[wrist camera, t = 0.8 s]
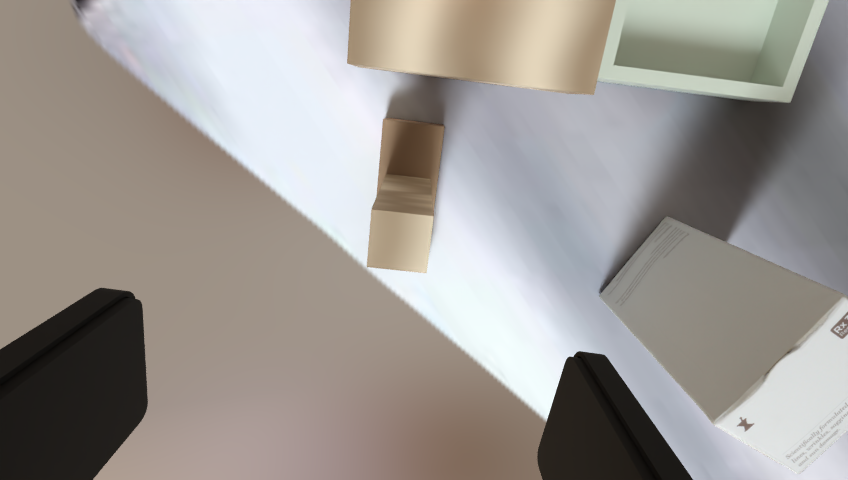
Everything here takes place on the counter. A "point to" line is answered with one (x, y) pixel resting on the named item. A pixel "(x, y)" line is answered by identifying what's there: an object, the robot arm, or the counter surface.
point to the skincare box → (741, 339)
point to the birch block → (485, 40)
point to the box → (712, 46)
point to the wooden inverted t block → (405, 195)
